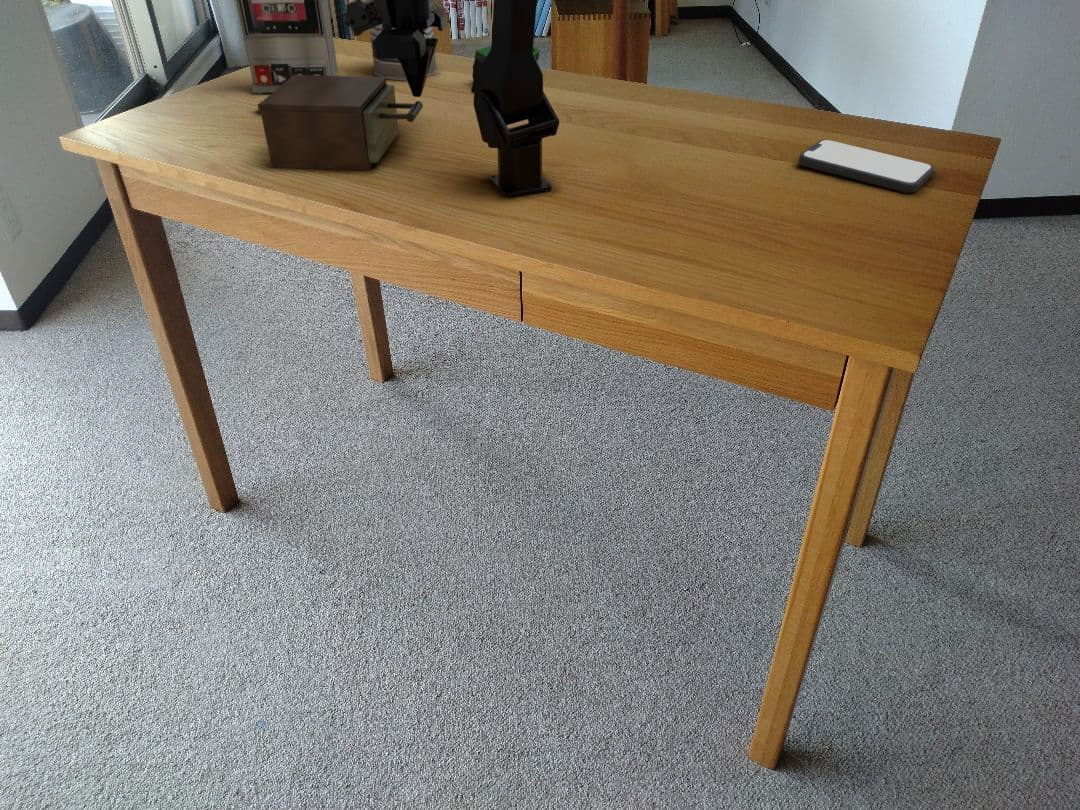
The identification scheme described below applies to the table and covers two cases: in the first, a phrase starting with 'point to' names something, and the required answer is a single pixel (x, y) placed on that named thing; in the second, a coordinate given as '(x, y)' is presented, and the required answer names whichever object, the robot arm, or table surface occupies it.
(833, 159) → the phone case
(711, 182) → the table surface
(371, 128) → the drawer
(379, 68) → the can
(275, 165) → the cabinet
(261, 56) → the cassette tape recorder
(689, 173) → the table surface
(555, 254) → the table surface
